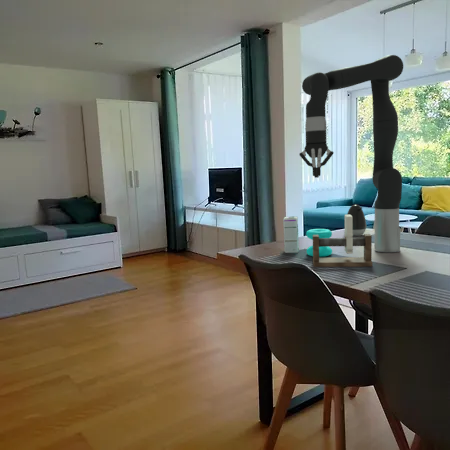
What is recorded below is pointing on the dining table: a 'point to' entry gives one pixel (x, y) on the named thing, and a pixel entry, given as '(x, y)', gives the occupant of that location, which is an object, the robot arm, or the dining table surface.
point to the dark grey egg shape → (357, 220)
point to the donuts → (322, 234)
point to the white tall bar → (349, 234)
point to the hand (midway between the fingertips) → (316, 177)
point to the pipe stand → (342, 260)
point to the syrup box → (291, 234)
